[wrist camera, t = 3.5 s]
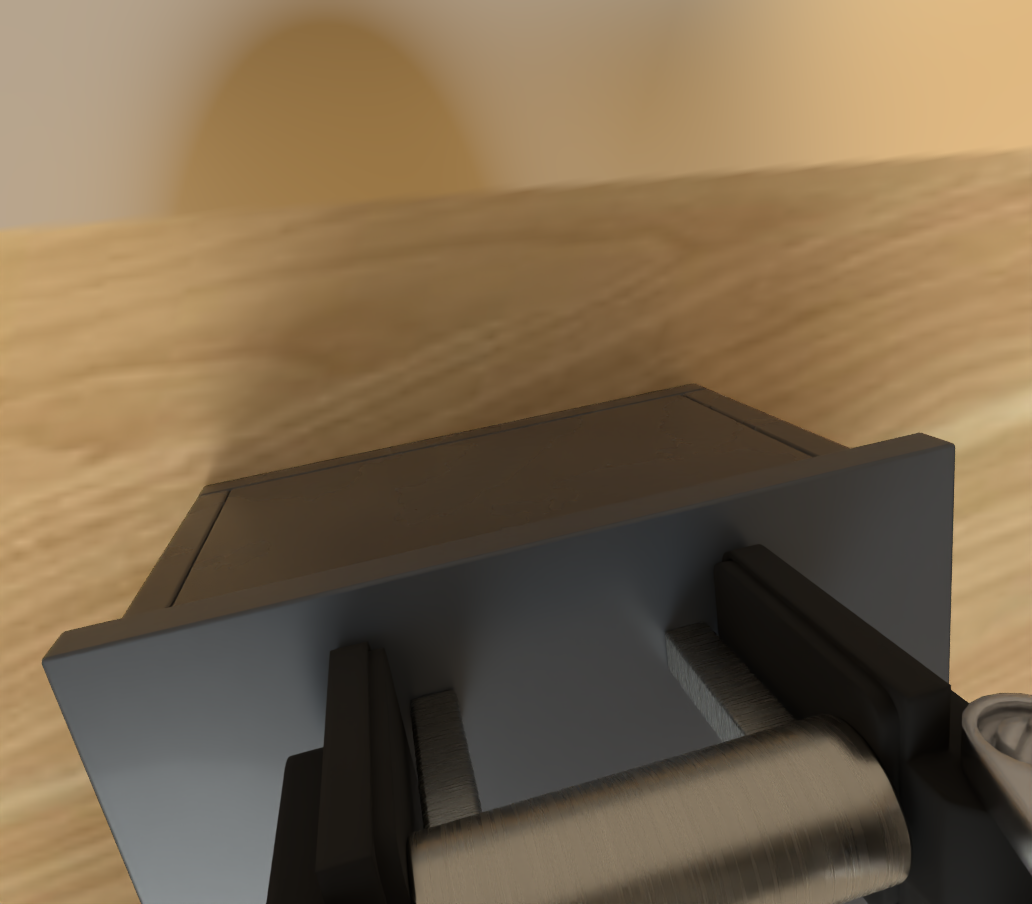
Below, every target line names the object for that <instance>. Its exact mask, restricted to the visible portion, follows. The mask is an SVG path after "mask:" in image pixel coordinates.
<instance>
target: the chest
mask: <svg viewBox="0 0 1032 904" xmlns="http://www.w3.org/2000/svg"><path fill="white" fill-rule="evenodd" d="M847 449H850V448H848V447H846V446H843V445H841V444H838V443H836V442H834V441H831V440H829V439H826V438H824V437H822V436H819V435H817V434H814V433H812V432H810V431H807V430H805V429H802V428H800V427H798V426H795V425H793V424H790V423H788V422H786V421H783V420H781V419H778V418H776V417H774V416H771V415H769V414H766V413H764V412H762V411H759V410H757V409H754V408H752V407H750V406H747V405H745V404H742V403H740V402H738V401H735V400H733V399H730V398H728V397H726V396H723V395H721V394H718V393H716V392H714V391H711V390H709V389H706V388H704V387H702V386H700V385H697V384H694V383H693V384H689V385H684V386H679V387H674V388H670V389H665V390H660V391H655V392H651V393H646V394H641V395H636V396H632V397H627V398H622V399H617V400H613V401H608V402H603V403H598V404H593V405H589V406H584V407H579V408H574V409H570V410H565V411H560V412H555V413H551V414H546V415H541V416H536V417H532V418H527V419H522V420H517V421H513V422H508V423H503V424H498V425H494V426H489V427H484V428H479V429H474V430H470V431H465V432H460V433H455V434H451V435H446V436H441V437H436V438H432V439H427V440H422V441H417V442H413V443H408V444H403V445H398V446H394V447H389V448H384V449H379V450H375V451H370V452H365V453H360V454H356V455H351V456H346V457H341V458H336V459H332V460H327V461H322V462H317V463H313V464H308V465H303V466H298V467H294V468H289V469H284V470H279V471H275V472H270V473H265V474H260V475H256V476H251V477H246V478H241V479H237V480H232V481H227V482H222V483H217V484H213V485H208V486H205V487H204V488H203V490H202V491H201V493H200V494H199V497H198V498H197V499H196V501H195V503H194V504H193V506H192V507H191V509H190V511H189V512H188V514H187V515H186V517H185V518H184V520H183V522H182V523H181V525H180V526H179V528H178V530H177V531H176V533H175V534H174V536H173V538H172V539H171V541H170V542H169V544H168V546H167V547H166V549H165V550H164V552H163V554H162V555H161V557H160V558H159V560H158V562H157V563H156V565H155V566H154V568H153V569H152V571H151V573H150V574H149V576H148V577H147V579H146V581H145V582H144V584H143V585H142V587H141V589H140V590H139V592H138V593H137V595H136V597H135V598H134V600H133V601H132V603H131V605H130V606H129V608H128V609H127V611H126V613H125V614H124V616H123V617H122V618H125V617H129V616H134V615H138V614H142V613H147V612H151V611H155V610H159V609H164V608H168V607H172V606H177V605H181V604H185V603H190V602H194V601H198V600H202V599H207V598H211V597H215V596H220V595H224V594H228V593H233V592H237V591H241V590H245V589H250V588H254V587H258V586H263V585H267V584H271V583H275V582H280V581H284V580H288V579H293V578H297V577H301V576H306V575H310V574H314V573H318V572H323V571H327V570H331V569H336V568H340V567H344V566H349V565H353V564H357V563H361V562H366V561H370V560H374V559H379V558H383V557H387V556H391V555H396V554H400V553H404V552H409V551H413V550H417V549H422V548H426V547H430V546H434V545H439V544H443V543H447V542H452V541H456V540H460V539H465V538H469V537H473V536H477V535H482V534H486V533H490V532H495V531H499V530H503V529H508V528H512V527H516V526H520V525H525V524H529V523H533V522H538V521H542V520H546V519H550V518H555V517H559V516H563V515H568V514H572V513H576V512H581V511H585V510H589V509H593V508H598V507H602V506H606V505H611V504H615V503H619V502H624V501H628V500H632V499H636V498H641V497H645V496H649V495H654V494H658V493H662V492H666V491H671V490H675V489H679V488H684V487H688V486H692V485H697V484H701V483H705V482H709V481H714V480H718V479H722V478H727V477H731V476H735V475H740V474H744V473H748V472H752V471H757V470H761V469H765V468H770V467H774V466H778V465H782V464H787V463H791V462H795V461H800V460H804V459H808V458H813V457H817V456H821V455H825V454H830V453H834V452H838V451H843V450H847Z"/></svg>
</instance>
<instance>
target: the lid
mask: <svg viewBox="0 0 1032 904" xmlns="http://www.w3.org/2000/svg"><path fill="white" fill-rule="evenodd" d="M954 471H955V445H954V444H953V443H950V442H947V441H944V440H941V439H938V438H935V437H932V436H929V435H926V434H923V433H916V434H911V435H907V436H903V437H899V438H894V439H890V440H886V441H881V442H877V443H873V444H868V445H864V446H860V447H856V448H851V449H847V450H843V451H838V452H834V453H830V454H825V455H821V456H817V457H813V458H808V459H804V460H800V461H795V462H791V463H787V464H782V465H778V466H774V467H770V468H765V469H761V470H757V471H752V472H748V473H744V474H740V475H735V476H731V477H727V478H722V479H718V480H714V481H709V482H705V483H701V484H697V485H692V486H688V487H684V488H679V489H675V490H671V491H666V492H662V493H658V494H654V495H649V496H645V497H641V498H636V499H632V500H628V501H624V502H619V503H615V504H611V505H606V506H602V507H598V508H593V509H589V510H585V511H581V512H576V513H572V514H568V515H563V516H559V517H555V518H550V519H546V520H542V521H538V522H533V523H529V524H525V525H520V526H516V527H512V528H508V529H503V530H499V531H495V532H490V533H486V534H482V535H477V536H473V537H469V538H465V539H460V540H456V541H452V542H447V543H443V544H439V545H434V546H430V547H426V548H422V549H417V550H413V551H409V552H404V553H400V554H396V555H391V556H387V557H383V558H379V559H374V560H370V561H366V562H361V563H357V564H353V565H349V566H344V567H340V568H336V569H331V570H327V571H323V572H318V573H314V574H310V575H306V576H301V577H297V578H293V579H288V580H284V581H280V582H275V583H271V584H267V585H263V586H258V587H254V588H250V589H245V590H241V591H237V592H233V593H228V594H224V595H220V596H215V597H211V598H207V599H202V600H198V601H194V602H190V603H185V604H181V605H177V606H172V607H168V608H164V609H159V610H155V611H151V612H147V613H142V614H138V615H134V616H129V617H125V618H121V619H117V620H112V621H108V622H104V623H99V624H95V625H91V626H86V627H82V628H78V629H74V630H69V631H65V632H63V633H62V634H61V635H60V636H59V638H58V639H57V640H56V642H55V643H54V644H53V646H52V647H51V648H50V650H49V651H48V652H47V654H46V655H45V656H44V658H43V659H42V666H43V668H44V671H45V673H46V675H47V678H48V680H49V683H50V685H51V687H52V690H53V692H54V695H55V697H56V700H57V702H58V704H59V707H60V709H61V712H62V714H63V716H64V719H65V721H66V724H67V726H68V728H69V731H70V733H71V736H72V738H73V741H74V743H75V745H76V748H77V750H78V753H79V755H80V757H81V760H82V762H83V765H84V767H85V770H86V772H87V774H88V777H89V779H90V782H91V784H92V786H93V789H94V791H95V794H96V796H97V798H98V801H99V803H100V806H101V808H102V811H103V813H104V815H105V818H106V820H107V823H108V825H109V827H110V830H111V832H112V835H113V837H114V839H115V842H116V844H117V847H118V849H119V852H120V854H121V856H122V859H123V861H124V864H125V866H126V868H127V871H128V873H129V876H130V878H131V880H132V883H133V885H134V888H135V890H136V893H137V895H138V897H139V900H140V902H141V904H266V901H267V894H268V887H269V879H270V872H271V865H272V857H273V850H274V843H275V836H276V828H277V821H278V814H279V807H280V799H281V792H282V785H283V778H284V770H285V765H286V761H287V759H288V757H289V756H292V755H296V754H299V753H303V752H307V751H310V750H314V749H318V748H322V747H323V746H324V731H325V716H326V701H327V686H328V671H329V656H330V651H331V650H335V649H339V648H343V647H347V646H351V645H355V644H359V643H363V642H367V641H368V643H369V645H370V648H371V650H375V649H379V648H383V647H384V649H385V652H386V655H387V659H388V663H389V667H390V671H391V675H392V679H393V683H394V687H395V692H396V696H397V700H398V704H399V708H400V712H401V716H402V720H403V724H404V728H405V732H406V736H407V740H408V744H409V748H410V753H411V757H412V761H413V765H414V769H415V773H416V777H417V781H418V785H419V793H420V802H421V811H422V820H423V829H424V830H420V831H417V832H413V833H412V834H411V835H409V836H408V838H407V843H406V859H407V872H408V882H409V890H410V898H411V904H868V903H867V902H866V901H865V899H864V898H863V896H866V895H869V894H872V893H875V892H878V891H881V890H884V889H887V888H890V887H893V886H896V885H899V884H901V883H902V882H903V881H904V880H905V879H906V878H907V877H908V876H909V874H910V872H911V869H912V865H913V843H912V836H911V832H910V827H909V824H908V820H907V817H906V813H905V811H904V808H903V805H902V802H901V800H900V798H899V795H898V793H897V791H896V788H895V786H894V784H893V782H892V780H891V778H890V776H889V775H888V773H887V771H886V769H885V767H884V766H883V764H882V763H881V761H880V759H879V758H878V756H877V755H876V753H875V752H874V751H873V749H872V748H871V746H870V745H869V744H868V743H867V742H866V740H865V739H864V738H863V737H862V736H861V735H860V734H859V733H858V731H857V730H856V729H854V728H853V727H852V726H851V725H850V724H849V723H847V722H846V721H844V720H843V719H841V718H839V717H837V716H834V715H831V714H818V715H814V716H811V717H808V718H804V719H801V720H797V721H796V720H795V719H794V718H793V716H792V715H791V714H790V713H789V712H788V711H787V710H786V709H785V708H784V707H783V706H782V705H781V703H780V702H779V701H778V700H777V699H776V698H775V697H774V696H773V695H772V694H771V693H770V691H769V690H768V689H767V688H766V687H765V686H764V685H763V684H762V683H761V682H760V681H759V680H758V678H757V677H756V676H755V675H754V674H753V673H752V672H751V671H750V670H749V669H748V668H747V667H746V665H745V664H744V663H743V662H742V661H741V660H740V659H739V658H738V657H737V656H736V655H735V654H734V652H733V651H732V650H731V649H730V648H729V647H728V646H727V645H726V644H725V643H724V642H723V641H722V639H721V638H720V637H719V633H718V621H717V609H716V597H715V585H714V566H715V565H716V564H717V563H721V562H722V558H723V555H724V553H725V552H728V551H732V550H736V549H740V548H744V547H748V546H752V545H756V544H761V545H763V546H765V547H766V548H767V549H769V550H770V551H771V552H773V553H774V554H775V555H777V556H778V557H779V558H781V559H782V560H784V561H785V562H786V563H788V564H789V565H790V566H792V567H793V568H794V569H796V570H797V571H798V572H800V573H801V574H802V575H804V576H805V577H806V578H808V579H809V580H810V581H812V582H813V583H814V584H816V585H817V586H818V587H820V588H821V589H822V590H824V591H825V592H826V593H828V594H829V595H830V596H832V597H833V598H834V599H836V600H837V601H838V602H840V603H841V604H842V605H844V606H845V607H847V608H848V609H849V610H851V611H852V612H853V613H855V614H856V615H857V616H859V617H860V618H861V619H863V620H864V621H865V622H867V623H868V624H869V625H871V626H872V627H873V628H875V629H876V630H877V631H879V632H880V633H881V634H883V635H884V636H885V637H887V638H888V639H889V640H891V641H892V642H893V643H895V644H896V645H897V646H899V647H900V648H901V649H903V650H904V651H905V652H907V653H908V654H910V655H911V656H912V657H914V658H915V659H916V660H918V661H919V662H920V663H922V664H923V665H924V666H926V667H927V668H928V669H930V670H931V671H932V672H934V673H935V674H936V675H938V676H939V677H940V678H942V679H943V680H944V681H946V682H947V683H948V684H949V658H950V621H951V583H952V546H953V508H954Z"/></svg>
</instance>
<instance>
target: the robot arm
mask: <svg viewBox="0 0 1032 904" xmlns="http://www.w3.org/2000/svg"><path fill="white" fill-rule="evenodd" d="M714 585H715V597H716V609H717V621H718V633H719V637H720V638H721V639H722V641H723V642H724V643H725V644H726V645H727V646H728V647H729V648H730V649H731V650H732V651H733V652H734V654H735V655H736V656H737V657H738V658H739V659H740V660H741V661H742V662H743V663H744V664H745V665H746V667H747V668H748V669H749V670H750V671H751V672H752V673H753V674H754V675H755V676H756V677H757V678H758V680H759V681H760V682H761V683H762V684H763V685H764V686H765V687H766V688H767V689H768V690H769V691H770V693H771V694H772V695H773V696H774V697H775V698H776V699H777V700H778V701H779V702H780V703H781V705H782V706H783V707H784V708H785V709H786V710H787V711H788V712H789V713H790V714H791V715H792V716H793V718H794V719H795V720H796V721H797V720H801V719H804V718H808V717H811V716H814V715H818V714H831V715H834V716H837V717H839V718H841V719H843V720H844V721H846V722H847V723H849V724H850V725H851V726H852V727H853V728H854V729H856V730H857V731H858V733H859V734H860V735H861V736H862V737H863V738H864V739H865V740H866V742H867V743H868V744H869V745H870V746H871V748H872V749H873V751H874V752H875V753H876V755H877V756H878V758H879V759H880V761H881V763H882V764H883V766H884V767H885V769H886V771H887V773H888V775H889V776H890V778H891V780H892V782H893V784H894V786H895V788H896V791H897V793H898V795H899V798H900V800H901V802H902V805H903V808H904V811H905V813H906V817H907V820H908V824H909V827H910V832H911V836H912V843H913V865H912V869H911V872H910V874H909V876H908V877H907V878H906V879H905V880H904V881H903V882H902V883H901V884H899V885H896V886H893V887H890V888H887V889H884V890H881V891H878V892H875V893H872V894H869V895H866V896H863V898H864V899H865V901H866V902H867V903H868V904H1032V695H1028V694H1022V693H998V694H993V695H987V696H983V697H981V698H979V699H977V700H975V701H973V702H971V703H968V702H966V701H965V700H964V699H962V698H961V697H960V696H959V695H957V694H956V693H955V692H953V691H952V690H951V685H950V684H948V683H947V682H946V681H944V680H943V679H942V678H940V677H939V676H938V675H936V674H935V673H934V672H932V671H931V670H930V669H928V668H927V667H926V666H924V665H923V664H922V663H920V662H919V661H918V660H916V659H915V658H914V657H912V656H911V655H910V654H908V653H907V652H905V651H904V650H903V649H901V648H900V647H899V646H897V645H896V644H895V643H893V642H892V641H891V640H889V639H888V638H887V637H885V636H884V635H883V634H881V633H880V632H879V631H877V630H876V629H875V628H873V627H872V626H871V625H869V624H868V623H867V622H865V621H864V620H863V619H861V618H860V617H859V616H857V615H856V614H855V613H853V612H852V611H851V610H849V609H848V608H847V607H845V606H844V605H842V604H841V603H840V602H838V601H837V600H836V599H834V598H833V597H832V596H830V595H829V594H828V593H826V592H825V591H824V590H822V589H821V588H820V587H818V586H817V585H816V584H814V583H813V582H812V581H810V580H809V579H808V578H806V577H805V576H804V575H802V574H801V573H800V572H798V571H797V570H796V569H794V568H793V567H792V566H790V565H789V564H788V563H786V562H785V561H784V560H782V559H781V558H779V557H778V556H777V555H775V554H774V553H773V552H771V551H770V550H769V549H767V548H766V547H765V546H763V545H761V544H756V545H752V546H748V547H744V548H740V549H736V550H732V551H728V552H725V553H724V555H723V558H722V562H721V563H717V564H716V565H715V566H714ZM420 830H424V829H423V820H422V811H421V802H420V793H419V785H418V781H417V777H416V773H415V769H414V765H413V761H412V757H411V753H410V748H409V744H408V740H407V736H406V732H405V728H404V724H403V720H402V716H401V712H400V708H399V704H398V700H397V696H396V692H395V687H394V683H393V679H392V675H391V671H390V667H389V663H388V659H387V655H386V652H385V649H384V647H383V648H379V649H375V650H371V648H370V645H369V643H368V641H367V642H363V643H359V644H355V645H351V646H347V647H343V648H339V649H335V650H331V651H330V656H329V671H328V686H327V701H326V716H325V731H324V746H323V747H322V748H318V749H314V750H310V751H307V752H303V753H299V754H296V755H292V756H289V757H288V759H287V761H286V765H285V770H284V778H283V785H282V792H281V799H280V807H279V814H278V821H277V828H276V836H275V843H274V850H273V857H272V865H271V872H270V879H269V887H268V894H267V901H266V904H411V898H410V890H409V882H408V872H407V859H406V843H407V838H408V836H409V835H411V834H412V833H413V832H417V831H420Z"/></svg>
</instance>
